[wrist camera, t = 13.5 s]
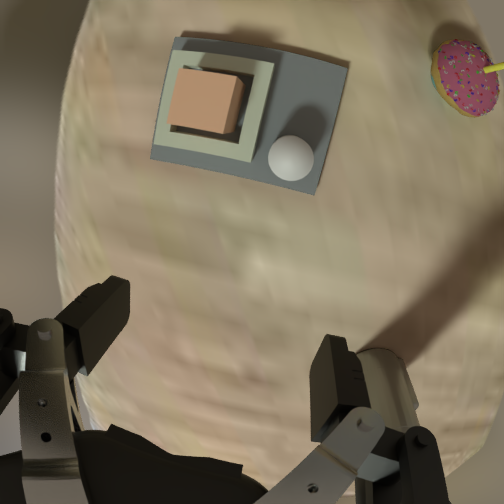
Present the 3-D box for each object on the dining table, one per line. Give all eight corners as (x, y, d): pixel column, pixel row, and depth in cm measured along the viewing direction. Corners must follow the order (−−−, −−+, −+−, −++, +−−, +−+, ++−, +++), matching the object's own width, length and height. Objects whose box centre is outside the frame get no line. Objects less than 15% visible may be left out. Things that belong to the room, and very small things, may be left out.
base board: (345, 70, 26) (356, 60, 21) (313, 192, 31) (318, 205, 27) (178, 39, 26) (160, 27, 21) (154, 157, 31) (133, 164, 27)
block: (245, 85, 26) (236, 76, 21) (234, 131, 28) (222, 133, 23) (198, 77, 26) (178, 68, 21) (187, 122, 28) (166, 123, 23)
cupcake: (441, 34, 21) (500, 10, 11) (485, 89, 23) (550, 89, 12) (402, 73, 25) (458, 54, 14) (450, 130, 26) (515, 141, 15)
